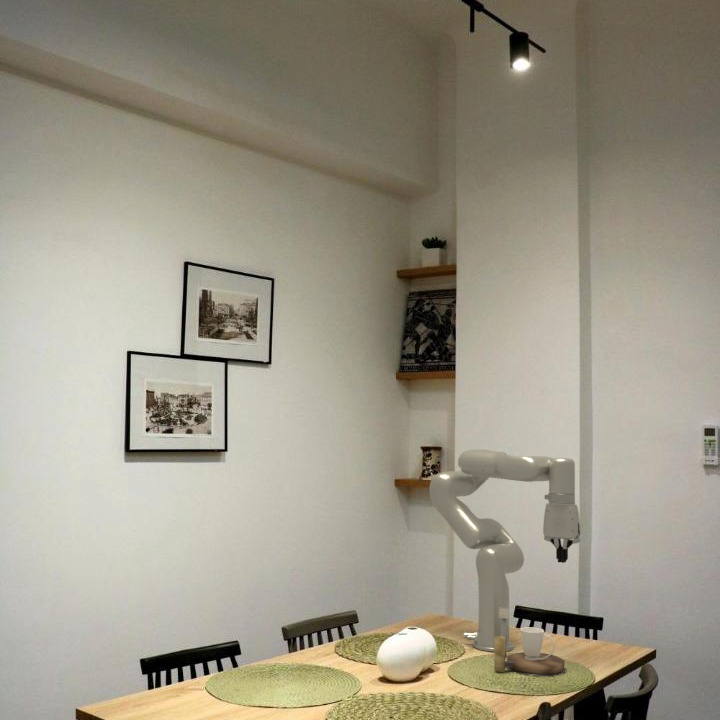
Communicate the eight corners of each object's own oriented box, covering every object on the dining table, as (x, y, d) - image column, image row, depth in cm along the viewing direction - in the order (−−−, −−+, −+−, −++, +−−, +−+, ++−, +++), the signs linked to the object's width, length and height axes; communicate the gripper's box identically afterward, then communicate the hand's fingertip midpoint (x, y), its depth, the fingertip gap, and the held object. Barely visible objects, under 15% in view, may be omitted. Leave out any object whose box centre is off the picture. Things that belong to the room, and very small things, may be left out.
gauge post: (495, 660, 251) (495, 608, 252) (495, 656, 256) (495, 605, 257) (512, 661, 250) (512, 609, 251) (512, 657, 255) (512, 606, 256)
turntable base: (505, 674, 237) (505, 673, 237) (505, 658, 253) (505, 657, 253) (568, 678, 234) (568, 677, 234) (563, 662, 251) (563, 661, 251)
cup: (523, 654, 249) (523, 626, 250) (557, 658, 245) (557, 630, 245) (516, 659, 243) (516, 630, 244) (551, 664, 238) (551, 634, 239)
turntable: (542, 657, 254) (542, 626, 255) (576, 671, 239) (576, 638, 240) (480, 663, 246) (480, 631, 246) (510, 678, 231) (511, 644, 232)
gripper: (533, 498, 255) (533, 561, 253) (582, 501, 247) (583, 566, 246) (542, 497, 261) (542, 558, 260) (590, 500, 254) (590, 563, 252)
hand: (562, 561), depth 253 cm, fingers closed
